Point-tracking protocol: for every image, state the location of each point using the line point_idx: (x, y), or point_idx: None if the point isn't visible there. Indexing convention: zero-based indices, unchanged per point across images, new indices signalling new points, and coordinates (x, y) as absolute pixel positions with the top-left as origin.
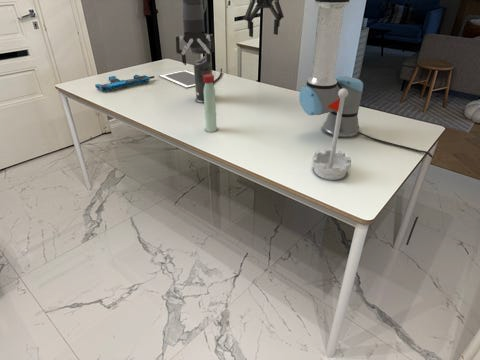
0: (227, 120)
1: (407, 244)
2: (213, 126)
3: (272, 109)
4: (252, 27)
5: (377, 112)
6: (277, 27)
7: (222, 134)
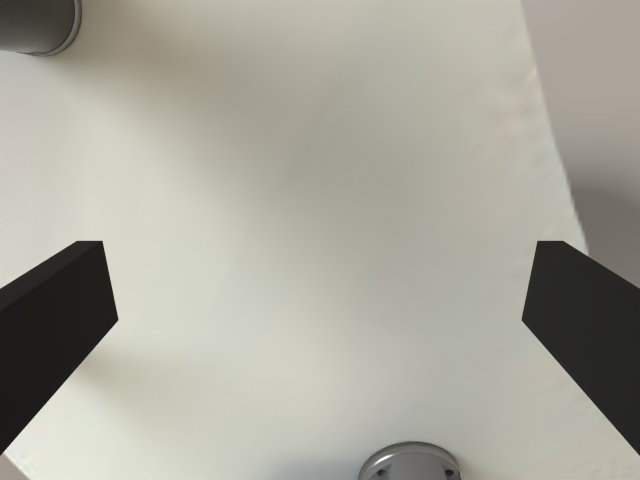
0: None
1: None
2: None
3: (309, 265)
4: (12, 422)
5: None
6: (602, 391)
7: None
